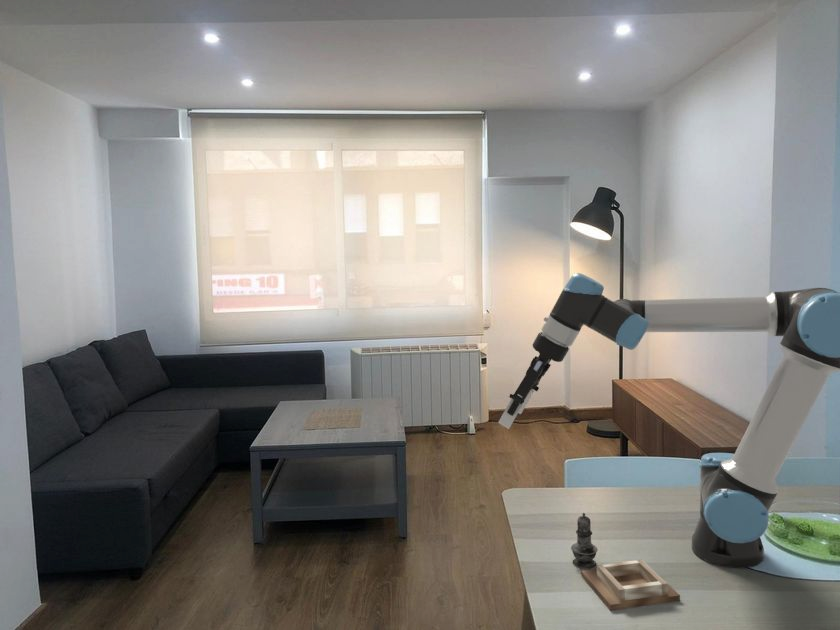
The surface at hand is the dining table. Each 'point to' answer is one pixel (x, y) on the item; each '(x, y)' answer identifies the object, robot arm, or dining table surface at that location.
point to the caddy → (629, 585)
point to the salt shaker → (584, 545)
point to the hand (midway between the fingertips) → (509, 418)
